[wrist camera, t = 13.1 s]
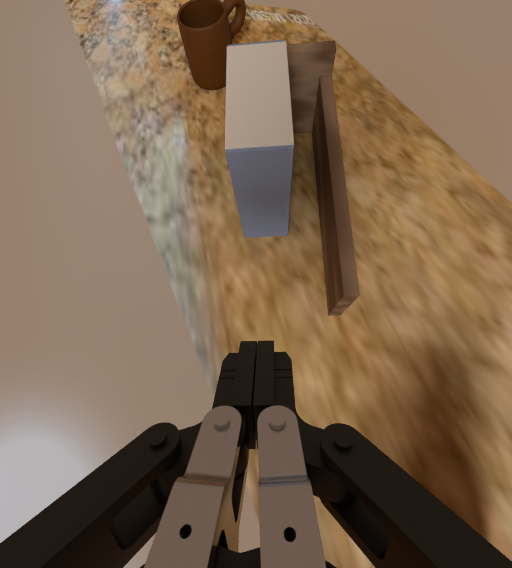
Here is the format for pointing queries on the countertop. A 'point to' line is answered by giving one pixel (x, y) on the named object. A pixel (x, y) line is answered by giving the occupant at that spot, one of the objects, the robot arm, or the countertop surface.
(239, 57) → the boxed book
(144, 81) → the countertop surface
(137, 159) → the countertop surface
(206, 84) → the mug
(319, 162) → the shelf corner
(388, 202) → the countertop surface
